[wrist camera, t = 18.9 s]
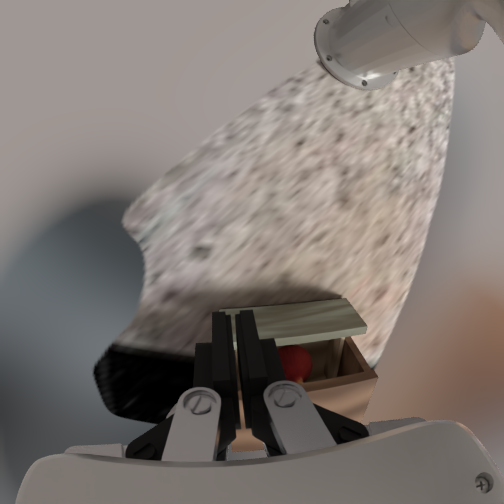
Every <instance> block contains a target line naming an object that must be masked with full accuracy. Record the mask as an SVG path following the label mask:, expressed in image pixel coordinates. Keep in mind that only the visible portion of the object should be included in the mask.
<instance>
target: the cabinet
mask: <svg viewBox="0 0 504 504" xmlns="http://www.w3.org/2000/svg"><path fill="white" fill-rule="evenodd" d="M377 379H378V376H377V374H376V373H375V371H374V370H371V368H370V367H369V365H368V364H367V362H366V360H365V359H364V357H363V356H362V354H361V352H360V351H359V349H358V348H357V346H356V344H355V343H354V341H353V340H352V338H351V337H350V336H349V337H345V340H344V345H343V350H342V355H341V359H340V364H339V368H338V373H337V377H336V378H331V379H326V380H320V381H314V382H308V383H301V384H299V385H301V386H302V387H303V388H304V390H305V391H306V393H307V395H308V396H309V398H310V400H311V402H312V403H314V404H317V405H319V406H321V407H323V408H326V409H328V410H330V411H333V412H335V413H338V414H340V415H342V416H345V417H347V418H350V419H352V420H355V421H358V422H359V423H361V421H362V418H363V416H364V413H365V411H366V409H367V406H368V403H369V401H370V398H371V396H372V393H373V390H374V388H375V385H376V382H377ZM238 396H239V408H240V420H241V429H239V430H236V439H235V440H234V441H233V442H231V446H232V452H243V451H254V450H264V447H263V442H262V441H260V440H259V439H257V438H255V437H254V436H252V431H251V429H246V427H245V419H244V411H243V403H242V395H241V390H240V391H238Z"/></svg>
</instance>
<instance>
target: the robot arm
mask: <svg viewBox="0 0 504 504" xmlns="http://www.w3.org/2000/svg"><path fill="white" fill-rule="evenodd" d="M486 22H487V23H488V24H489V25H490V26H491V27H492V28H493V30H494V31H495V32H496V34H497V35H498V37H499V38H500V40H501V41H502V42H503V44H504V0H349V3H348V4H347V5H346V6H345V7H341V8H336V9H333V10H331V11H329V12H327V13H326V14H325V15H324V16H323V17H322V18H321V19H320V20H319V22H318V23H317V25H316V28H315V32H314V44H315V48H316V52H317V54H318V56H319V58H320V60H321V62H322V63H323V65H324V66H325V67H326V69H327V70H328V71H329V72H330V73H331V74H332V75H333V76H334V77H336V78H337V79H338V80H339V81H341V82H343V83H345V84H346V85H348V86H351V87H353V88H356V89H361V90H375V89H380V88H383V87H385V86H387V85H389V84H390V83H391V82H392V81H393V80H394V79H395V78H396V76H397V75H398V72H399V70H403V69H406V68H410V67H413V66H417V65H421V64H425V63H429V62H433V61H437V60H441V59H445V58H450V57H454V56H458V55H462V54H465V53H467V52H469V51H471V50H472V49H473V48H474V47H475V46H477V44H478V43H479V41H480V39H481V37H482V34H483V31H484V28H485V23H486ZM324 23H325V24H324ZM326 58H327V59H328V61H327V60H326ZM362 84H363V85H362ZM235 326H236V342H237V357H238V369H239V378H240V386H241V395H242V403H243V411H244V419H245V427H246V429H251V431H252V436H254V437H255V438H257V439H259V440H260V441H262V442H263V447H264V449H265V452H266V454H267V457H266V458H257V459H247V460H232V461H227V459H228V450H229V449H228V445H229V444H230V443H231V442H233V441H234V440H235V439H236V430H239V429H241V420H240V408H239V396H238V383H237V373H236V363H235V353H234V343H233V333H232V323H231V314H228V315H226V313H225V311H222V312H212V343H196V348H195V363H194V379H193V388H192V389H189V390H187V391H185V392H184V393H183V394H182V395H181V396H180V398H179V400H178V404H177V407H176V410H175V413H174V414H172V415H171V416H169V417H168V418H167V419H165V420H164V421H162V422H161V423H159V424H158V425H156V426H155V427H154V428H152V429H150V430H149V431H147V432H146V433H144V434H143V435H141V436H140V437H138V438H136V439H135V440H133V441H132V442H131V443H130V444H129V445H126V446H122V445H121V443H120V444H107V445H86V446H72V447H70V448H68V449H67V450H66V451H65V452H64V453H63V454H56V455H50V456H46V457H43V458H41V459H39V460H37V461H36V462H34V463H33V464H32V466H31V467H30V468H29V470H28V471H27V473H26V475H25V477H24V479H23V481H22V484H21V487H20V489H19V492H18V495H17V499H16V502H15V504H504V478H503V476H502V474H501V473H500V471H499V469H498V467H497V465H496V464H495V462H494V461H493V459H492V458H491V456H490V455H489V453H488V452H487V450H486V449H485V448H484V446H483V445H482V443H481V442H480V441H479V440H478V439H477V437H476V436H475V435H474V434H473V433H472V432H471V431H470V430H469V429H468V428H467V427H465V426H464V425H462V424H460V423H458V422H455V421H448V420H439V421H426V420H425V419H422V418H419V417H411V418H404V419H398V420H397V419H396V420H388V421H379V422H370V423H369V425H363V424H361V423H359V422H358V421H355V420H352V419H350V418H347V417H345V416H342V415H340V414H338V413H335V412H333V411H330V410H328V409H326V408H323V407H321V406H319V405H317V404H314V403H312V402H311V400H310V398H309V396H308V395H307V393H306V391H305V390H304V388H303V387H302V386H301V385H299V384H297V383H295V382H292V381H287V380H286V376H285V373H284V370H283V366H282V363H281V359H280V356H279V353H278V349H277V346H276V342H275V339H274V338H268V339H259V336H258V331H257V327H256V322H255V317H254V313H253V309H251V310H240V314H235Z"/></svg>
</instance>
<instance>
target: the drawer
mask: <svg viewBox="0 0 504 504" xmlns="http://www.w3.org/2000/svg"><path fill="white" fill-rule="evenodd" d="M251 309H253V313H254V317H255V322H256V327H257V331H258V336H259V339H268V338H274V339H275V342H276V346H277V349H279V348H281V347H283V346H285V345H298V346H300V347H303V348H305V349H306V350H307V351H308V352H309V354H310V355H311V358H312V364H313V367H312V371H311V374H310V376H309V377H308V378H307V379H306V380H305V381H304V383H308V382H314V381H320V380H326V379H331V378H336V377H337V373H338V368H339V364H340V359H341V355H342V350H343V345H344V340H345V337H349V336H355V335H360V334H366V331H367V325H366V323H365V322H364V321H363V319H362V318H361V317H360V315H359V314H358V313H357V312H356V310H355V309H354V308H353V306H352V305H351V304H350V302H349V301H348V300H347V299H346V298H343V299H334V300H325V301H316V302H307V303H296V304H286V305H274V306H262V307H249V308H235V309H219V312H222V311H225V313H226V315H228V314H231V323H232V333H233V343H234V353H235V363H236V373H237V383H238V391H240V390H241V386H240V378H239V369H238V357H237V342H236V326H235V314H240V310H251Z"/></svg>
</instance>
